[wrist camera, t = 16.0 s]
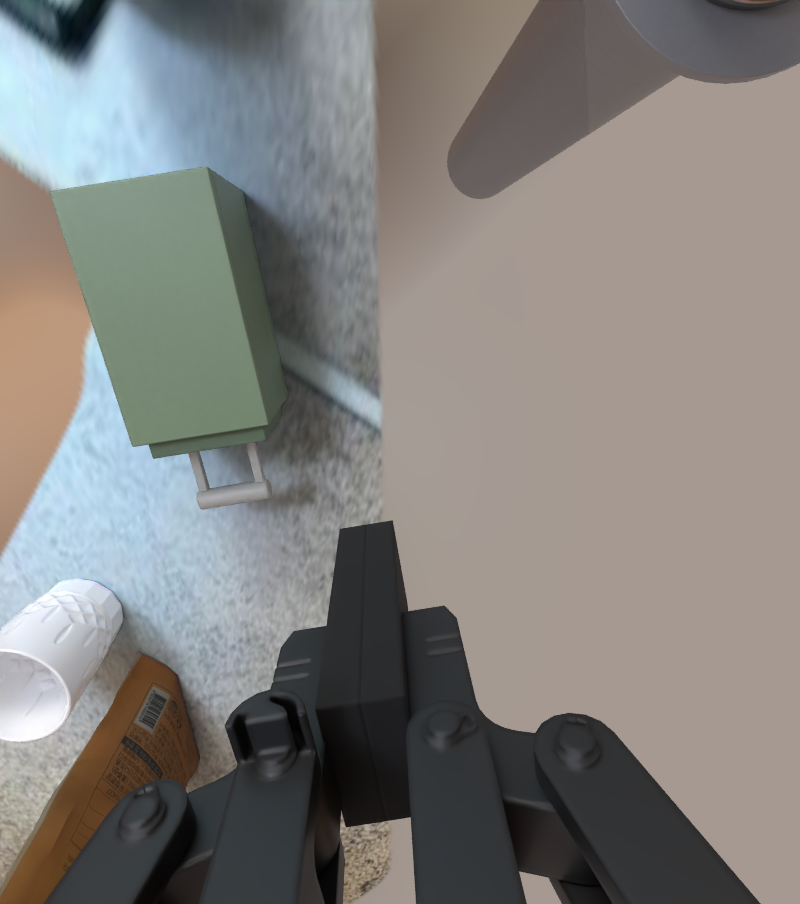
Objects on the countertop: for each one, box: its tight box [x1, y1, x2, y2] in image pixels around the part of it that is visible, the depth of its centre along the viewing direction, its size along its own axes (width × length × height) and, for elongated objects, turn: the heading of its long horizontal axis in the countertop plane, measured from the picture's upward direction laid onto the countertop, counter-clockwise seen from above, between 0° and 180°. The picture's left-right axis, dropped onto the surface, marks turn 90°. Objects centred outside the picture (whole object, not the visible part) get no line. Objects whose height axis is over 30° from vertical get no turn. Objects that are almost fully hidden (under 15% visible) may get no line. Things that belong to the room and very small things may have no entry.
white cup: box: [0, 578, 123, 742], centre depth 42 cm, size 8×8×10 cm
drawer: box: [149, 407, 282, 509], centre depth 36 cm, size 18×7×7 cm, turn 9°
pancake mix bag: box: [0, 652, 200, 904], centre depth 37 cm, size 7×19×28 cm, turn 6°
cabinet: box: [50, 167, 288, 447], centre depth 35 cm, size 15×9×9 cm, turn 9°
